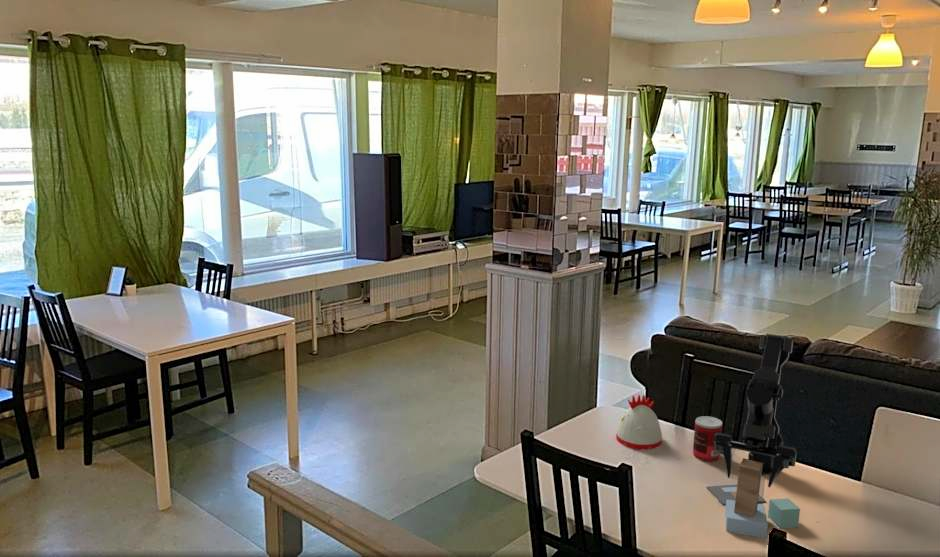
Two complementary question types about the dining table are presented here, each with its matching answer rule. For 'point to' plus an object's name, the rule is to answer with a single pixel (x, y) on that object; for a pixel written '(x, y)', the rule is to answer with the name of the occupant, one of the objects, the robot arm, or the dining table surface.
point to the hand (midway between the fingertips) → (748, 482)
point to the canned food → (706, 438)
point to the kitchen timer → (639, 426)
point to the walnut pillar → (748, 487)
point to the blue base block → (746, 521)
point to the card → (727, 493)
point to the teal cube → (784, 513)
